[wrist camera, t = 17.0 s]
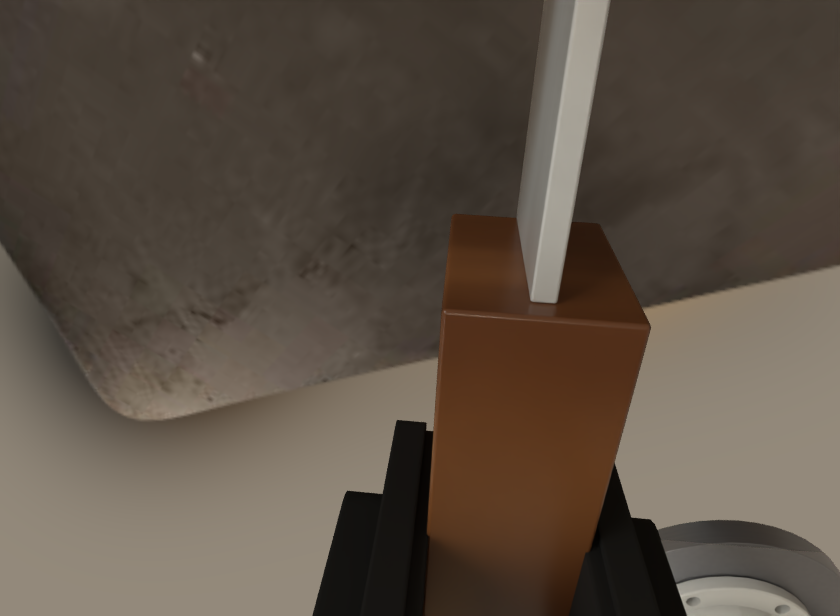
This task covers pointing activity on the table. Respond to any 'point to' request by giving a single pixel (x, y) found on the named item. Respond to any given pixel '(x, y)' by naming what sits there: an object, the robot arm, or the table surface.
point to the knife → (531, 363)
